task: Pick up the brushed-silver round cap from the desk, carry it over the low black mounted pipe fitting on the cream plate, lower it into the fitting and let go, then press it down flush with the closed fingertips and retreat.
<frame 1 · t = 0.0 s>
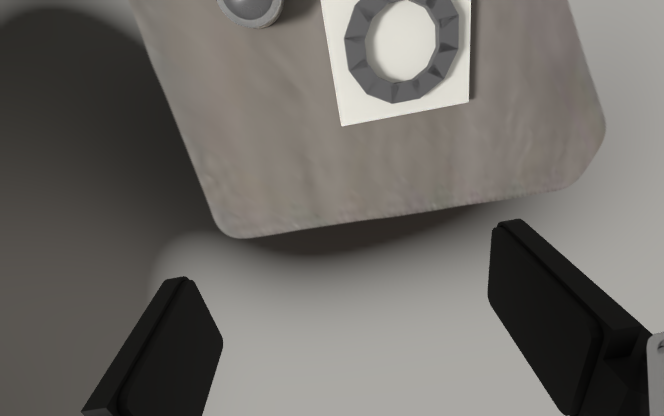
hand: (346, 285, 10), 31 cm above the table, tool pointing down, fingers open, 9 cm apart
mounted pipe fitting: (397, 43, 35), on the table
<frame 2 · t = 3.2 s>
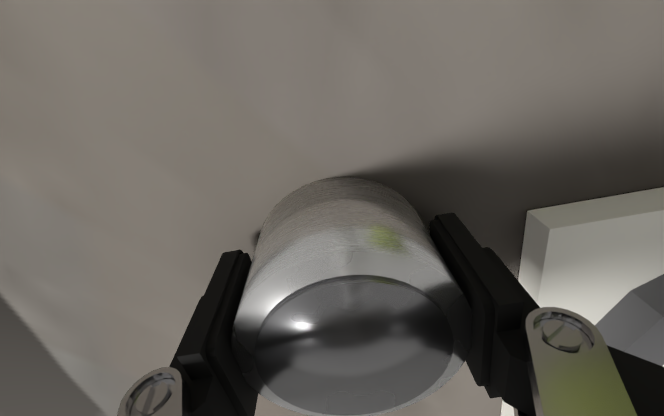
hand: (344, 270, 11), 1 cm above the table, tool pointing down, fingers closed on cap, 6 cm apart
cap: (342, 254, 11), on the table, touching gripper
when the fingers open (3 cm above the table, at t = 7.2 s): cap stays where it is, resting on mounted pipe fitting.
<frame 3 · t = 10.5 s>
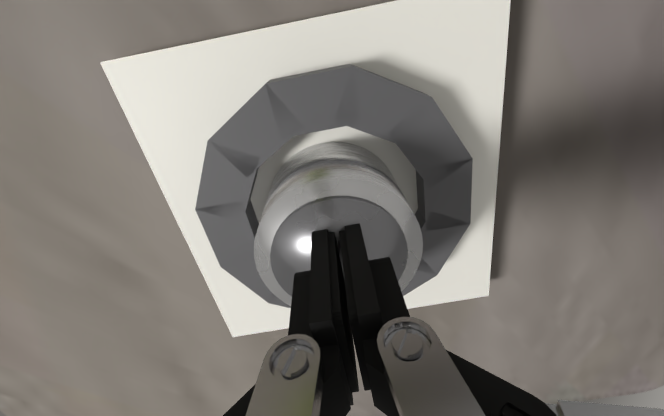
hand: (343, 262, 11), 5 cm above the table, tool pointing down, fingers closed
cap: (333, 204, 15), point 1 cm above the table, touching mounted pipe fitting, gripper
mounted pipe fitting: (334, 193, 16), on the table
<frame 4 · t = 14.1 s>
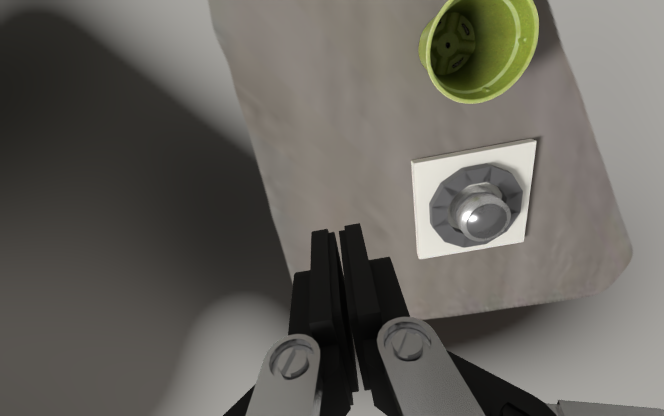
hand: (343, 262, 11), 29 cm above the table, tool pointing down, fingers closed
cap: (472, 205, 42), point 1 cm above the table, touching mounted pipe fitting
plant pot: (444, 44, 34), on the table
mounted pipe fitting: (468, 201, 43), on the table
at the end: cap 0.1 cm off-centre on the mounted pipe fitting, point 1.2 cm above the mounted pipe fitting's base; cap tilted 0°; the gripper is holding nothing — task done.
